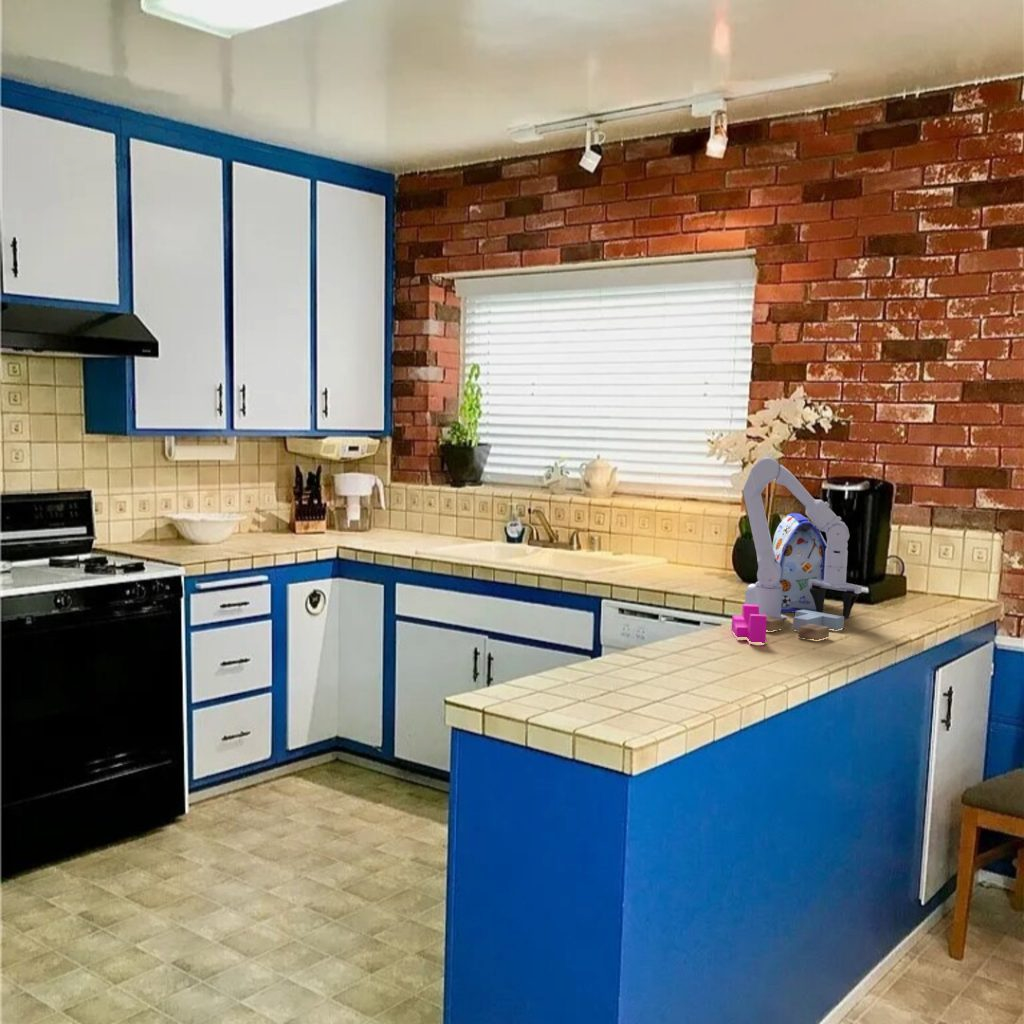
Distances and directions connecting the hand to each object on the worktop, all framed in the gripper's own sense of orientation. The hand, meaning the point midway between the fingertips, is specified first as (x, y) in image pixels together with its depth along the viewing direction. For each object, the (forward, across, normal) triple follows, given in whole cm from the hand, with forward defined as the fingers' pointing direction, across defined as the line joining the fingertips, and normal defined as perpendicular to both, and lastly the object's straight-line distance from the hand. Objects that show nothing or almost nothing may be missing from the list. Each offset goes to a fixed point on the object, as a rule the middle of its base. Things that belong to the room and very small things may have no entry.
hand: (832, 616), depth 280 cm
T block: (+2, 0, -11) cm, 11 cm away
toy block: (+2, -4, -35) cm, 35 cm away
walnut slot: (+2, 0, -22) cm, 22 cm away
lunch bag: (+2, -19, +14) cm, 24 cm away
